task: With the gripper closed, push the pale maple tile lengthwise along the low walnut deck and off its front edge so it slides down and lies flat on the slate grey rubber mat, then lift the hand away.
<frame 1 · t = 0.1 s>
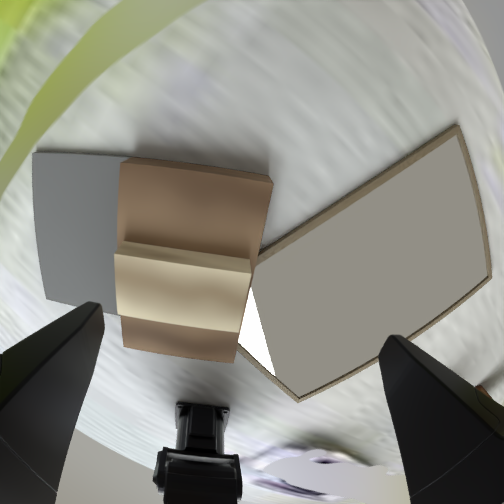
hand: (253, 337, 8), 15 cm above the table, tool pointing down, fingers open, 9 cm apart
rubber mat: (79, 236, 22), on the table
maple tile: (182, 280, 21), point 2 cm above the table, touching walnut deck
rectangular mirror: (373, 285, 26), on the table
walnut deck: (186, 264, 23), on the table
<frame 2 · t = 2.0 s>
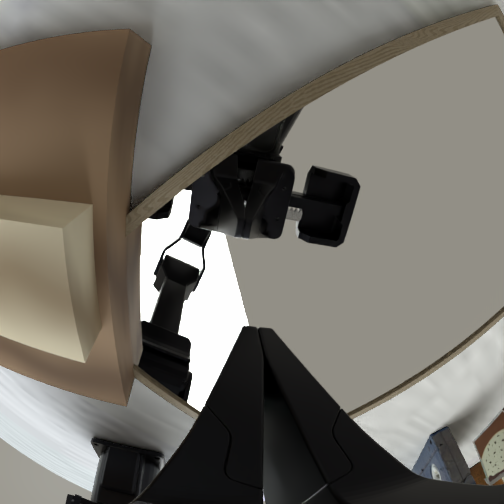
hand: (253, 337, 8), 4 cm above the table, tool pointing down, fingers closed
food container: (497, 419, 28), on the table
maple tile: (4, 254, 9), point 2 cm above the table, touching walnut deck
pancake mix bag: (464, 471, 46), on the table
rectangular mirror: (384, 274, 14), on the table
vhs cassette tape: (424, 454, 27), on the table
walnut deck: (34, 230, 11), on the table
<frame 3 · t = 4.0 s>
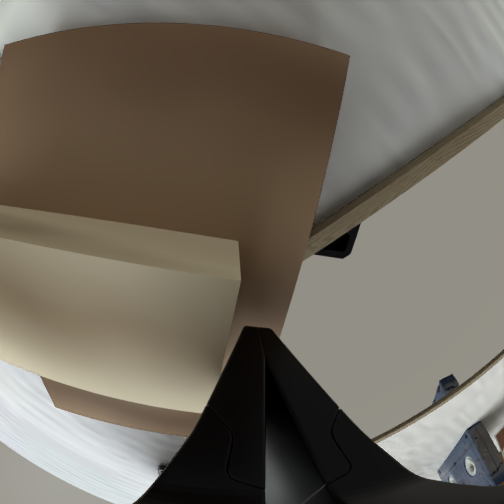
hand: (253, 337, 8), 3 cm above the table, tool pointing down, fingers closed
maple tile: (84, 291, 8), point 3 cm above the table, touching gripper
rectangular mirror: (467, 293, 14), on the table
vhs cassette tape: (455, 448, 27), on the table
walnut deck: (144, 265, 11), on the table
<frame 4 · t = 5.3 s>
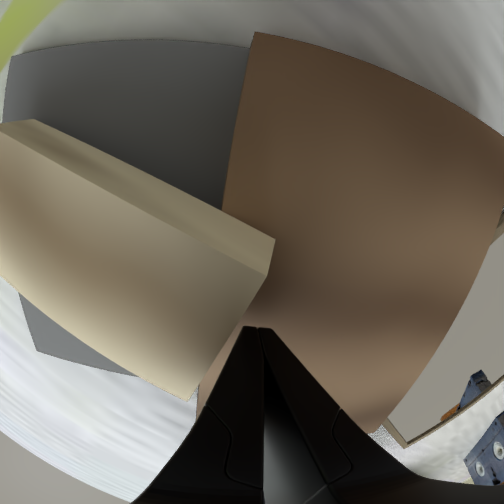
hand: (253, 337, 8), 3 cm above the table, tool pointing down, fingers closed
rubber mat: (98, 234, 10), on the table
maple tile: (106, 238, 8), point 2 cm above the table, tilted 13°, touching gripper
vhs cassette tape: (482, 437, 28), on the table
walnut deck: (334, 288, 12), on the table
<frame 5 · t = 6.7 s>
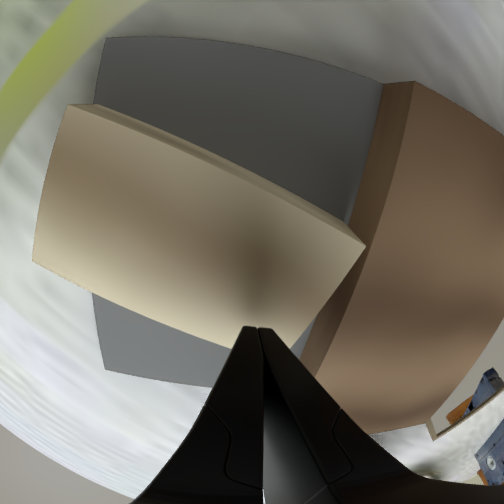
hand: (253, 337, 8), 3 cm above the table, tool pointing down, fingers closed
rubber mat: (209, 248, 11), on the table
maple tile: (189, 226, 10), point 1 cm above the table, touching rubber mat
vhs cassette tape: (494, 432, 29), on the table
walnut deck: (414, 296, 12), on the table
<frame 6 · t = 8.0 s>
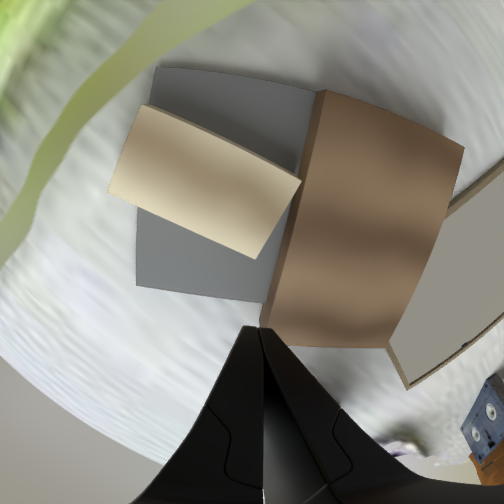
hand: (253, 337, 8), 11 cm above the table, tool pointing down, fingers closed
rubber mat: (214, 191, 17), on the table
maple tile: (203, 176, 16), point 1 cm above the table, touching rubber mat
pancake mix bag: (488, 440, 54), on the table
rectangular mirror: (490, 260, 22), on the table
vhs cassette tape: (476, 403, 36), on the table
walnut deck: (355, 232, 19), on the table
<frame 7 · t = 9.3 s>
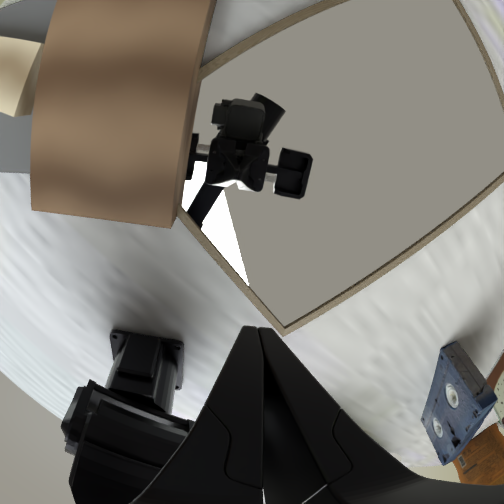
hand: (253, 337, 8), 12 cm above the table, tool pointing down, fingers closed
rubber mat: (14, 81, 13), on the table
food container: (503, 360, 32), on the table
maple tile: (5, 70, 12), point 1 cm above the table, touching rubber mat
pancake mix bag: (472, 438, 50), on the table
rectangular mirror: (374, 132, 18), on the table
vhs cassette tape: (436, 385, 31), on the table
walnut deck: (118, 86, 15), on the table
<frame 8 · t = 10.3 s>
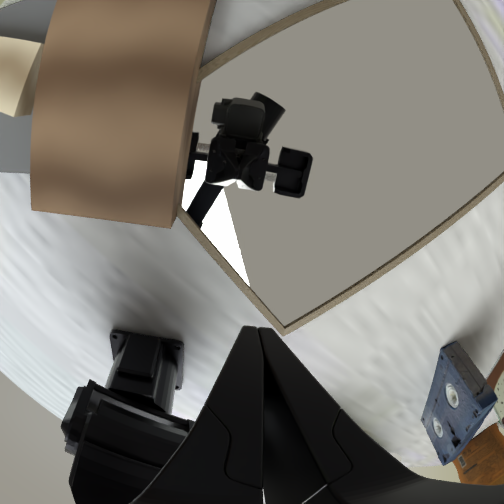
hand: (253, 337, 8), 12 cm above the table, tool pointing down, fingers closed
rubber mat: (14, 81, 13), on the table
food container: (503, 360, 32), on the table
maple tile: (5, 70, 12), point 1 cm above the table, touching rubber mat
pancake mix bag: (472, 438, 50), on the table
rectangular mirror: (374, 132, 18), on the table
vhs cassette tape: (436, 385, 31), on the table
walnut deck: (118, 86, 15), on the table
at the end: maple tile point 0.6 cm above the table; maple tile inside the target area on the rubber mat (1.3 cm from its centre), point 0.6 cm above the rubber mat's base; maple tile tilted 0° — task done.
